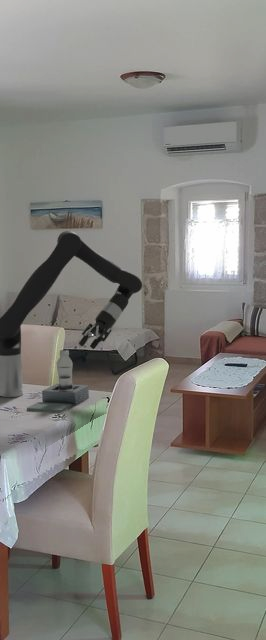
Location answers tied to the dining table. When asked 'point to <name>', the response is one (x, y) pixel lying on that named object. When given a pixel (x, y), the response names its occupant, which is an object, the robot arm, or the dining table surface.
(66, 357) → the silver metal bottle
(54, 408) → the grey-green rectangular panel
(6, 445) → the dining table surface
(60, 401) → the metal collar
